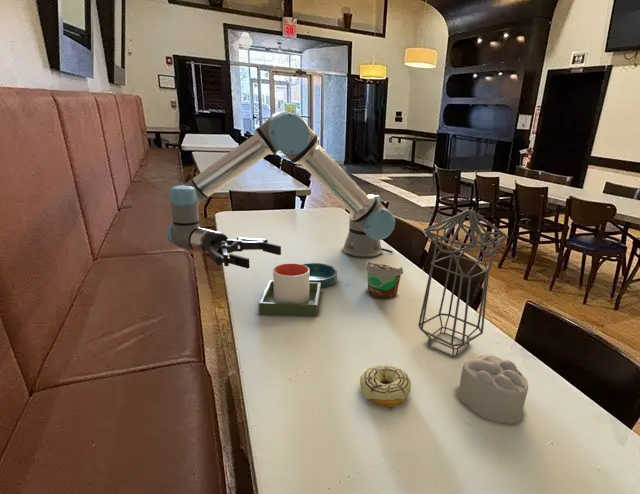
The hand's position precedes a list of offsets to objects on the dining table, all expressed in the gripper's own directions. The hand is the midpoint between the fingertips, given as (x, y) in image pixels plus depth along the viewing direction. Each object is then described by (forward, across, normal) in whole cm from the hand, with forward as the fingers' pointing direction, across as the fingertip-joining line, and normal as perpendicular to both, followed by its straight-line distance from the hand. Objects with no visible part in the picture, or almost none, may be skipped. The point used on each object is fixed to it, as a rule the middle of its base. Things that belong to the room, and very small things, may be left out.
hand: (265, 256), depth 119 cm
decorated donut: (+50, +23, -12) cm, 56 cm away
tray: (+9, 0, -12) cm, 15 cm away
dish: (+5, -18, -12) cm, 22 cm away
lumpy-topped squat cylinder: (+71, +14, -12) cm, 73 cm away
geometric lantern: (+56, -3, -13) cm, 58 cm away
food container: (+28, -19, -12) cm, 36 cm away
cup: (+9, 0, -12) cm, 15 cm away
